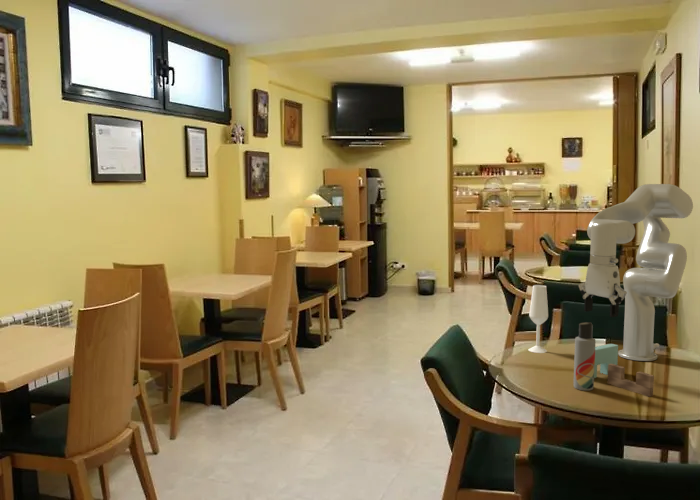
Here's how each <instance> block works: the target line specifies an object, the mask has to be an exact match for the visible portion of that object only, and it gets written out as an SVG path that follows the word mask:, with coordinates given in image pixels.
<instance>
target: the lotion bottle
mask: <svg viewBox="0 0 700 500" xmlns="http://www.w3.org/2000/svg"><path fill="white" fill-rule="evenodd" d="M593 326H594V325H593V324H592V322H591V321H589V322H587V321H585V322H580V323H578V336H575V340H574V359H573V360H574V361H573V362H574V363H573V388H574V389H577V390H579V391H588V392H589V391H593V390H594V387H595V386H594V385H595V378H594V368H595V347H596V339H595V338H593V328H594V327H593Z"/></svg>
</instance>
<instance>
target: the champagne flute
mask: <svg viewBox="0 0 700 500" xmlns="http://www.w3.org/2000/svg"><path fill="white" fill-rule="evenodd" d="M547 293H548V292H547V285H543V284H534V285H532V291H531V297H530V306H529V314H528V317H529V319H530V320H531V321H532V322H533V323H534V324H535V325H536V333H535V334H536V338H535V339H536V341H535V343H536V344H535V345H534V346H532V347H530V348H528V350H527V351H529V352H531V353H535V354H536V353H537V354H544V353H547V352H548V350H547V349H546V348H544V347H542V346H541V345H540V344H541V343H540V339H541V338H540V337H541V336H540V335H541V325H542V324H544V323H545V322H546V321H547V320H548V318H549V307H548V304H549V303H548V294H547Z"/></svg>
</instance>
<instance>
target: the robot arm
mask: <svg viewBox="0 0 700 500" xmlns="http://www.w3.org/2000/svg"><path fill="white" fill-rule="evenodd" d="M693 208H694V204H693V200H692V198H691V196H690V195H689V194H688V193H687V192H686V191H685V190H683V189H682V188H680V187H679V186H677V185H675V184H670V183H665V184H664V183H647V184H643V185H640V186H638V187H637V188H636V189H635V190H634V191H633V192H632V193H631V194H630V195H629V197H628V198H626V199H625V201H624V202H620V203H617V204H614V205H612V206H610V207H607V208H605V209H602V210H600V211H599V212H598V213H596V215H594V217H593V218H592V219H591V220H590V222H589V223H588V226H587V229H586V232H587V236H588V238H589V239H590V252H589V254H590V255H589V263H588V266H587V269H586V275H585V281H583V282H581V283H579V284H578V288H579V291H580V294H581V295H582V299H583V300H584V305H583V306H584V307H583V308H584V309H583V310H584V312H592V311H593V310H594V309H593V304H594V299H593V298H592V297H594V296H597V297H602V298H606V299H608V300H609V302H610V303H611V304H609V318H616V317H619V312H620V310H619V308H620V307H619V305H620V304H621V303H622V302H624V321H623V325H624V326H623V341H622V342H623V348H622V349H618V357H620V358H623V359H627V360H631V361H638V362H651V361H653V362H654V361H655V360H657V359H658V354H657V353H656V352H654V350H658V349H660V344H659V343H654V335H655V334H654V331H655V330H654V329H655V315H656V314H655V313H656V310H655V305H654V302H653V301H652V300H651V297H653V298H659V299H672V298H674V297H675V296H676V295H677V293H678V291H679V287H680V284H681V283H682V281H681V280H682V277H683V274H684V272H685V268H686V266H687V261H688V258H687V257H688V253H687V250H686V248H685V246H683V245H682V244H679V243H674V242H673V243H671V242H669V241H670V237H671V232H670V229H669V228H668V226H667V225H666V224H665V222H663V220H662V218H663V219H664V218H665V219H686V218H688V217H689V216H690V215H691V214H692V211H693ZM641 222H642V223H643V229H644V230H643V235H642V237H641V240H640V243H639V246H638V249H637V252H636V256H635V261H636V264H637V265H638V266H640V267H632V268H629V269H627V270H626V271H625V272H624V273H623V274H624V275H623V279H622V284H623V288H622V287H621V278H620V270H619V267H618V266H619V265H616V264H617V263H618V262H619V259H618V258H617V244H627V243H629V242H631V241H632V240H633V239H634V238H635V235H636V228H635V224H637V223H641Z"/></svg>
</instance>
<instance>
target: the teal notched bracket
mask: <svg viewBox="0 0 700 500" xmlns="http://www.w3.org/2000/svg"><path fill="white" fill-rule="evenodd" d="M618 351H619V345H618V344H614V343H607V344H604V345H598V346H595V368H594V379H596V378H597V376H598V366H600V367H599V368H600V370H599V374H602V373H603V374H602V375H605V376H606V375H607V376H608V364H615V365H618V359H619V358H618V357H619V355H618Z"/></svg>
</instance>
